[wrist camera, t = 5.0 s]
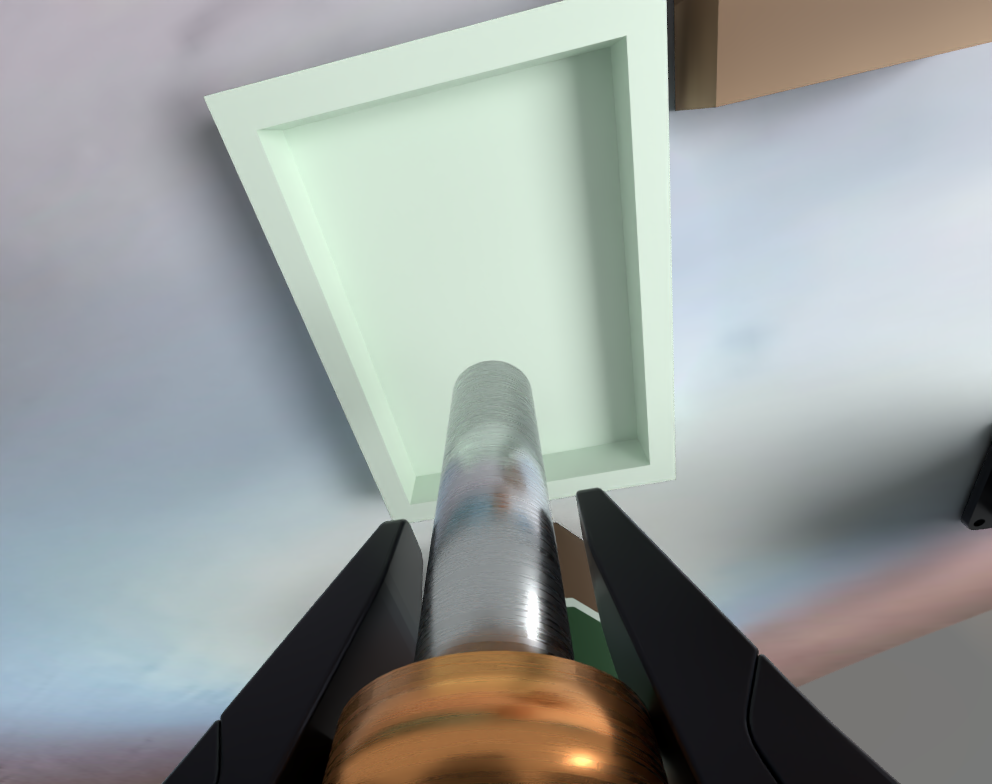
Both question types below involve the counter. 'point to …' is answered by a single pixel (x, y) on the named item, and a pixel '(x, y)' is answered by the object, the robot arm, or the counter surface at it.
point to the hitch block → (808, 42)
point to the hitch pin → (494, 633)
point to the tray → (481, 234)
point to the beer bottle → (581, 603)
